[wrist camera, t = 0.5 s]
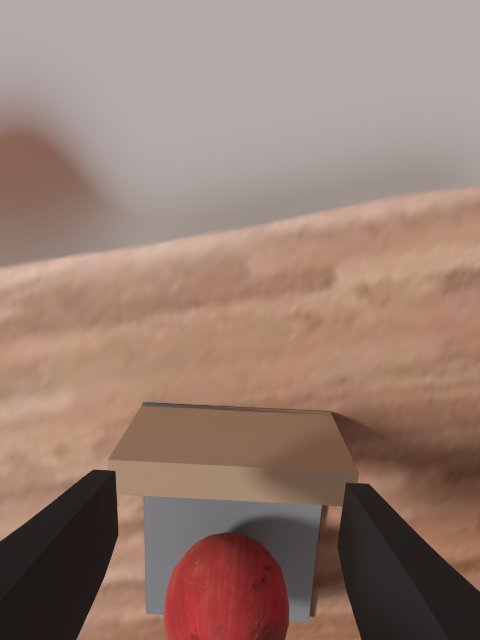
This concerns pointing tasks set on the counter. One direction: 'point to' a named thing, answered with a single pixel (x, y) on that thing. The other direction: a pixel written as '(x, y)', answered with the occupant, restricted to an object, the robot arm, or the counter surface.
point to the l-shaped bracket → (233, 485)
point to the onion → (227, 592)
